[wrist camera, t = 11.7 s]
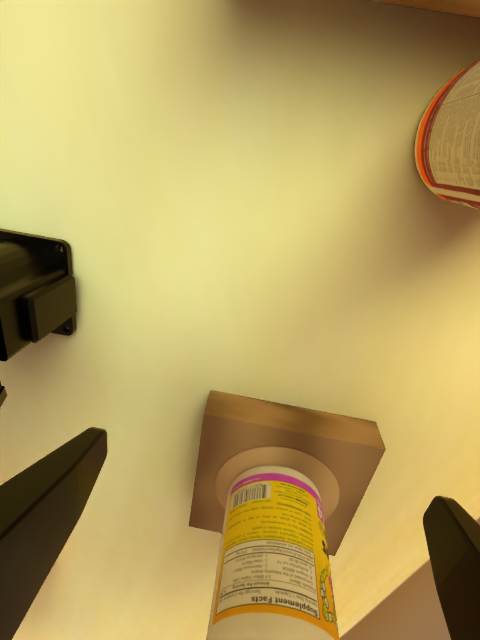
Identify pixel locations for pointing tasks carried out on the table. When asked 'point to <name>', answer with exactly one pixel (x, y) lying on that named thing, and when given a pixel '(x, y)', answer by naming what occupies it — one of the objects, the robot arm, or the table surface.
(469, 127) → the pill bottle
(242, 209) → the table surface
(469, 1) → the box
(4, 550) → the robot arm
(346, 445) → the base slab
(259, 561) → the supplement bottle
